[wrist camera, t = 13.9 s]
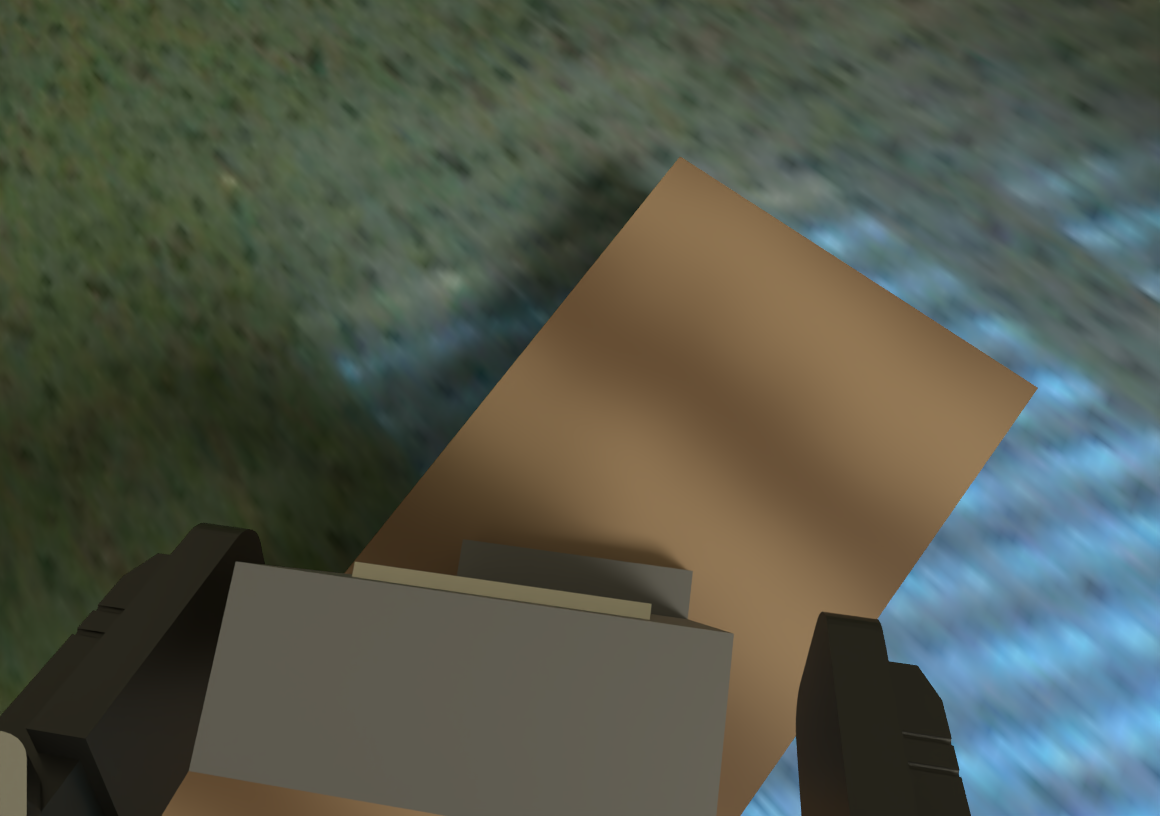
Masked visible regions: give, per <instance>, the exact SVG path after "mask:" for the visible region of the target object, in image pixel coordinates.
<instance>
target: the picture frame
mask: <svg viewBox="0 0 1160 816" xmlns="http://www.w3.org/2000/svg"><path fill="white" fill-rule="evenodd" d="M692 575H693V571H690V570H683V569H675V568H668V567H661V566H654V565H646V564H639V563H632V562H624V561H617V560H610V559H603V558H595V557H588V556H581V555H574V554H566V553H559V552H552V551H545V550H537V549H530V548H523V547H516V546H508V545H501V544H494V543H487V542H479V541H472V540H465V539H463V542H462V548H461V554H460V559H459V565H458V571H457V576H453V575H446V574H439V573H432V572H425V571H418V570H411V569H404V568H396V567H389V566H382V565H375V564H368V563H361V562H355V563H354V568H353V574H345V573H335V572H326V571H317V570H308V569H299V568H290V567H281V566H272V565H263V564H254V563H245V562H235V567H234V571H233V576H232V580H231V585H230V589H229V594H228V598H227V603H226V607H225V611H224V616H223V620H222V625H221V629H220V634H219V638H218V643H217V647H216V652H215V656H214V661H213V665H212V669H211V674H210V678H209V683H208V687H207V692H206V696H205V701H204V705H203V710H202V714H201V719H200V723H199V727H198V732H197V736H196V741H195V745H194V750H193V754H192V759H191V763H190V768H189V771H191V772H197V773H203V774H209V775H214V776H220V777H226V778H232V779H237V780H243V781H249V782H255V783H260V784H266V785H272V786H278V787H283V788H289V789H295V790H301V791H306V792H312V793H318V794H324V795H329V796H335V797H341V798H347V799H352V800H358V801H364V802H369V803H375V804H381V805H387V806H392V807H398V808H404V809H410V810H415V811H421V812H427V813H433V814H438V815H444V816H716V814H717V803H718V793H719V783H720V773H721V762H722V752H723V742H724V731H725V721H726V711H727V700H728V690H729V680H730V670H731V659H732V649H733V639H734V634H733V633H730V632H727V631H724V630H721V629H717V628H714V627H711V626H708V625H705V624H701V623H698V622H695V621H692V620H689V619H688V612H689V603H690V594H691V585H692Z"/></svg>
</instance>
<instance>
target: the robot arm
mask: <svg viewBox="0 0 1160 816" xmlns="http://www.w3.org/2000/svg"><path fill="white" fill-rule="evenodd" d="M235 562H245V563H254V564H263V565H265V562H264V558H263V553H262V548H261V543H260V540H259V537H258V535H257V533H256V532H255V531H253V530H250V529H243V528H236V527H229V526H222V525H215V524H208V523H200V524H198V525H196V526H195V527H194V528H193V529H192V530H191V531H190V532H189V533H188V534H187V535H186V537H185V538H184V539H183V540H182V541H181V543H180V544H179V545H178V546H177V547H176V549H175V550H174V551H173V552H172V553H171V555H166V554H159V553H158V554H156V555H155V556H153V557H152V558H150V559H149V560H147V561H146V562H144V563H143V564H141V565H139V566H138V567H136V568H135V569H133V570H132V571H130V572H129V573H127V574H126V575H124V576H123V577H122V578H121V579H120V580H119V581H118V582H117V584H116V585H115V586H114V587H113V588H112V589H111V590H110V592H109V593H108V594H107V595H106V596H105V597H104V598H103V600H102V601H101V602H100V603H99V604H98V609H97V610H96V611H94V610H93V611H92V612H91V613H90V614H89V616H88V617H87V618H86V619H85V620H84V621H83V622H82V624H81V625H80V626H79V627H78V631H77V633H76V634H75V635H74V634H72V635H71V636H70V637H69V638H68V640H67V641H66V642H65V643H64V644H63V645H62V646H61V647H60V649H59V650H58V651H57V652H56V653H55V654H54V655H53V657H52V658H51V659H50V660H49V661H48V662H47V663H46V665H45V666H44V667H43V668H42V669H41V670H40V671H39V673H38V674H37V675H36V676H35V677H34V678H33V679H32V681H31V682H30V683H29V684H28V685H27V686H26V687H25V689H24V690H23V691H22V692H21V693H20V694H19V695H18V697H17V698H16V699H15V700H14V701H13V702H12V703H11V705H10V706H9V707H8V708H7V709H6V710H5V711H4V713H3V714H2V715H1V716H0V816H162V814H163V812H164V811H165V809H166V807H167V806H168V804H169V803H170V801H171V799H172V798H173V796H174V794H175V793H176V791H177V789H178V788H179V786H180V785H181V783H182V781H183V780H184V778H185V776H186V775H187V773H188V772H189V768H190V763H191V759H192V754H193V750H194V745H195V741H196V736H197V732H198V727H199V723H200V719H201V714H202V710H203V705H204V701H205V696H206V692H207V687H208V683H209V678H210V674H211V669H212V665H213V661H214V656H215V652H216V647H217V643H218V638H219V634H220V629H221V625H222V620H223V616H224V611H225V607H226V603H227V598H228V594H229V589H230V585H231V580H232V576H233V571H234V567H235ZM796 742H797V757H798V771H799V786H800V800H801V815H802V816H971V814H970V810H969V806H968V802H967V798H966V794H965V790H964V786H963V782H962V778H961V777H959V766H958V762H957V758H956V754H955V750H954V746H952V745H951V734H950V730H949V726H948V722H947V718H946V714H945V710H944V706H943V702H942V700H941V698H940V697H939V695H938V694H937V692H936V691H935V690H934V688H933V687H932V685H931V684H930V683H929V681H928V680H927V678H926V677H925V675H924V674H923V673H922V671H921V670H920V668H919V667H918V666H917V665H910V664H903V663H896V662H889V661H888V655H887V650H886V645H885V640H884V635H883V630H882V626H881V623H880V622H879V620H878V619H872V618H865V617H858V616H851V615H844V614H837V613H830V612H821V613H820V614H819V616H818V619H817V622H816V626H815V630H814V633H813V637H812V641H811V645H810V648H809V652H808V656H807V659H806V663H805V667H804V671H803V674H802V678H801V682H800V686H799V691H798V698H797V707H796Z"/></svg>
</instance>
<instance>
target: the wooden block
mask: <svg viewBox="0 0 1160 816" xmlns="http://www.w3.org/2000/svg"><path fill="white" fill-rule="evenodd" d="M1037 389H1038V388H1037V387H1036V386H1034V385H1033V384H1031V383H1029V382H1028V381H1026V380H1025V379H1023V378H1022V377H1020V376H1019V375H1017V374H1016V373H1014V372H1012V371H1011V370H1009V369H1008V368H1006V367H1005V366H1003V365H1002V364H1000V363H999V362H997V361H995V360H994V359H992V358H991V357H989V356H988V355H986V354H985V353H983V352H982V351H980V350H978V349H977V348H975V347H974V346H972V345H971V344H969V343H968V342H966V341H965V340H963V339H961V338H960V337H958V336H957V335H955V334H954V333H952V332H951V331H949V330H948V329H946V328H944V327H943V326H941V325H940V324H938V323H937V322H935V321H934V320H932V319H930V318H929V317H927V316H926V315H924V314H923V313H921V312H920V311H918V310H917V309H915V308H913V307H912V306H910V305H909V304H907V303H906V302H904V301H903V300H901V299H900V298H898V297H896V296H895V295H893V294H892V293H890V292H889V291H887V290H886V289H884V288H883V287H881V286H879V285H878V284H876V283H875V282H873V281H872V280H870V279H869V278H867V277H866V276H864V275H862V274H861V273H859V272H858V271H856V270H855V269H853V268H852V267H850V266H849V265H847V264H845V263H844V262H842V261H841V260H839V259H838V258H836V257H835V256H833V255H832V254H830V253H828V252H827V251H825V250H824V249H822V248H821V247H819V246H818V245H816V244H815V243H813V242H811V241H810V240H808V239H807V238H805V237H804V236H802V235H801V234H799V233H798V232H796V231H794V230H793V229H791V228H790V227H788V226H787V225H785V224H784V223H782V222H780V221H779V220H777V219H776V218H774V217H773V216H771V215H770V214H768V213H767V212H765V211H763V210H762V209H760V208H759V207H757V206H756V205H754V204H753V203H751V202H750V201H748V200H746V199H745V198H743V197H742V196H740V195H739V194H737V193H736V192H734V191H733V190H731V189H729V188H728V187H726V186H725V185H723V184H722V183H720V182H719V181H717V180H716V179H714V178H712V177H711V176H709V175H708V174H706V173H705V172H703V171H702V170H700V169H699V168H697V167H695V166H694V165H692V164H691V163H689V162H688V161H686V160H685V159H683V158H682V157H679V159H678V160H677V161H676V162H675V163H674V165H673V166H672V167H671V168H670V170H669V171H668V172H667V173H666V175H665V176H664V177H663V178H662V180H661V181H660V182H659V183H658V185H657V186H656V187H655V188H654V190H653V191H652V192H651V193H650V195H649V196H648V197H647V198H646V199H645V201H644V202H643V203H642V204H641V206H640V207H639V208H638V209H637V211H636V212H635V213H634V214H633V216H632V217H631V218H630V219H629V221H628V222H627V223H626V224H625V226H624V227H623V228H622V229H621V231H620V232H619V233H618V234H617V235H616V237H615V238H614V239H613V240H612V242H611V243H610V244H609V245H608V247H607V248H606V249H605V250H604V252H603V253H602V254H601V255H600V257H599V258H598V259H597V260H596V262H595V263H594V264H593V265H592V267H591V268H590V269H589V270H588V271H587V273H586V274H585V275H584V276H583V278H582V279H581V280H580V281H579V283H578V284H577V285H576V286H575V288H574V289H573V290H572V291H571V293H570V294H569V295H568V296H567V298H566V299H565V300H564V301H563V303H562V304H561V305H560V306H559V307H558V309H557V310H556V311H555V312H554V314H553V315H552V316H551V317H550V319H549V320H548V321H547V322H546V324H545V325H544V326H543V327H542V329H541V330H540V331H539V332H538V334H537V335H536V336H535V337H534V339H533V340H532V341H531V342H530V343H529V345H528V346H527V347H526V348H525V350H524V351H523V352H522V353H521V355H520V356H519V357H518V358H517V360H516V361H515V362H514V363H513V365H512V366H511V367H510V368H509V370H508V371H507V372H506V373H505V375H504V376H503V377H502V378H501V380H500V381H499V382H498V383H497V384H496V386H495V387H494V388H493V389H492V391H491V392H490V393H489V394H488V396H487V397H486V398H485V399H484V401H483V402H482V403H481V404H480V406H479V407H478V408H477V409H476V411H475V412H474V413H473V414H472V416H471V417H470V418H469V419H468V420H467V422H466V423H465V424H464V425H463V427H462V428H461V429H460V430H459V432H458V433H457V434H456V435H455V437H454V438H453V439H452V440H451V442H450V443H449V444H448V445H447V447H446V448H445V449H444V450H443V452H442V453H441V454H440V455H439V456H438V458H437V459H436V460H435V461H434V463H433V464H432V465H431V466H430V468H429V469H428V470H427V471H426V473H425V474H424V475H423V476H422V478H421V479H420V480H419V481H418V483H417V484H416V485H415V486H414V488H413V489H412V490H411V491H410V492H409V494H408V495H407V496H406V497H405V499H404V500H403V501H402V502H401V504H400V505H399V506H398V507H397V509H396V510H395V511H394V512H393V514H392V515H391V516H390V517H389V519H388V520H387V521H386V522H385V524H384V525H383V526H382V527H381V528H380V530H379V531H378V532H377V533H376V535H375V536H374V537H373V538H372V540H371V541H370V542H369V543H368V545H367V546H366V547H365V548H364V550H363V551H362V552H361V553H360V555H359V556H358V557H357V558H356V560H355V561H354V562H353V563H352V564H351V566H350V567H349V568H348V569H347V571H346V572H345V574H353V568H354V563H355V562H361V563H368V564H375V565H382V566H389V567H396V568H404V569H411V570H418V571H425V572H432V573H439V574H446V575H453V576H457V571H458V565H459V559H460V554H461V548H462V542H463V539H465V540H472V541H479V542H487V543H494V544H501V545H508V546H516V547H523V548H530V549H537V550H545V551H552V552H559V553H566V554H574V555H581V556H588V557H595V558H603V559H610V560H617V561H624V562H632V563H639V564H646V565H654V566H661V567H668V568H675V569H683V570H690V571H693V575H692V585H691V594H690V603H689V612H688V619H689V620H692V621H695V622H698V623H701V624H705V625H708V626H711V627H714V628H717V629H721V630H724V631H727V632H730V633H733V634H734V639H733V649H732V659H731V670H730V680H729V690H728V700H727V711H726V721H725V731H724V742H723V752H722V762H721V773H720V783H719V793H718V803H717V814H716V816H740V815H741V814H742V812H743V811H744V810H745V808H746V807H747V805H748V804H749V802H750V801H751V799H752V798H753V797H754V795H755V794H756V792H757V791H758V789H759V788H760V787H761V785H762V784H763V782H764V781H765V779H766V778H767V776H768V775H769V774H770V772H771V771H772V769H773V768H774V766H775V765H776V764H777V762H778V761H779V759H780V758H781V756H782V755H783V754H784V752H785V751H786V749H787V748H788V746H789V745H790V743H791V742H792V741H793V739H794V738H795V736H796V707H797V698H798V691H799V686H800V682H801V678H802V674H803V671H804V667H805V663H806V659H807V656H808V652H809V648H810V645H811V641H812V637H813V633H814V630H815V626H816V622H817V619H818V616H819V614H820V613H821V612H830V613H837V614H844V615H851V616H858V617H865V618H872V619H877V618H878V617H879V616H880V614H881V613H882V611H883V610H884V608H885V607H886V606H887V604H888V603H889V601H890V600H891V598H892V597H893V595H894V594H895V593H896V591H897V590H898V588H899V587H900V585H901V584H902V583H903V581H904V580H905V578H906V577H907V575H908V574H909V572H910V571H911V570H912V568H913V567H914V565H915V564H916V562H917V561H918V560H919V558H920V557H921V555H922V554H923V552H924V551H925V550H926V548H927V547H928V545H929V544H930V542H931V541H932V539H933V538H934V537H935V535H936V534H937V532H938V531H939V529H940V528H941V527H942V525H943V524H944V522H945V521H946V519H947V518H948V516H949V515H950V514H951V512H952V511H953V509H954V508H955V506H956V505H957V504H958V502H959V501H960V499H961V498H962V496H963V495H964V493H965V492H966V491H967V489H968V488H969V486H970V485H971V483H972V482H973V481H974V479H975V478H976V476H977V475H978V473H979V472H980V471H981V469H982V468H983V466H984V465H985V463H986V462H987V460H988V459H989V458H990V456H991V455H992V453H993V452H994V450H995V449H996V448H997V446H998V445H999V443H1000V442H1001V440H1002V439H1003V437H1004V436H1005V435H1006V433H1007V432H1008V430H1009V429H1010V427H1011V426H1012V425H1013V423H1014V422H1015V420H1016V419H1017V417H1018V416H1019V414H1020V413H1021V412H1022V410H1023V409H1024V407H1025V406H1026V404H1027V403H1028V402H1029V400H1030V399H1031V397H1032V396H1033V394H1034V393H1035V391H1036V390H1037ZM162 816H444V815H438V814H433V813H427V812H421V811H415V810H410V809H404V808H398V807H392V806H387V805H381V804H375V803H369V802H364V801H358V800H352V799H347V798H341V797H335V796H329V795H324V794H318V793H312V792H306V791H301V790H295V789H289V788H283V787H278V786H272V785H266V784H260V783H255V782H249V781H243V780H237V779H232V778H226V777H220V776H214V775H209V774H203V773H197V772H191V771H189V772H188V773H187V775H186V776H185V778H184V780H183V781H182V783H181V785H180V786H179V788H178V789H177V791H176V793H175V794H174V796H173V798H172V799H171V801H170V803H169V804H168V806H167V807H166V809H165V811H164V812H163V814H162Z"/></svg>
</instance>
